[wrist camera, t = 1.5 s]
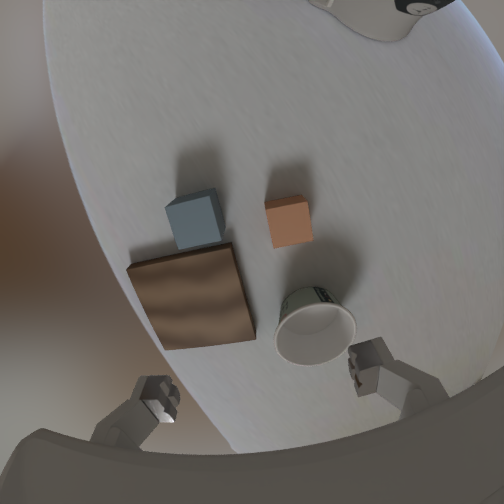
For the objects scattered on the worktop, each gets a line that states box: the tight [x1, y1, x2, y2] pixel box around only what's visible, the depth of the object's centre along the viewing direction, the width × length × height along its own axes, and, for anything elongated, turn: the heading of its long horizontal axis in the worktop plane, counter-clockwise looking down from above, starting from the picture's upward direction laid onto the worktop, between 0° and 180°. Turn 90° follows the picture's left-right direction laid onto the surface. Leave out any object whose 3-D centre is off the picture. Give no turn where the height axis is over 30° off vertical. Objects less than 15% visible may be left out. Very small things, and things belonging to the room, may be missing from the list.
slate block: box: [165, 188, 226, 250], centre depth 34 cm, size 6×6×5 cm
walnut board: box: [126, 243, 256, 350], centre depth 40 cm, size 16×16×2 cm
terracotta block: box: [264, 195, 314, 248], centre depth 34 cm, size 5×5×4 cm
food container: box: [274, 287, 357, 366], centre depth 39 cm, size 12×12×6 cm
